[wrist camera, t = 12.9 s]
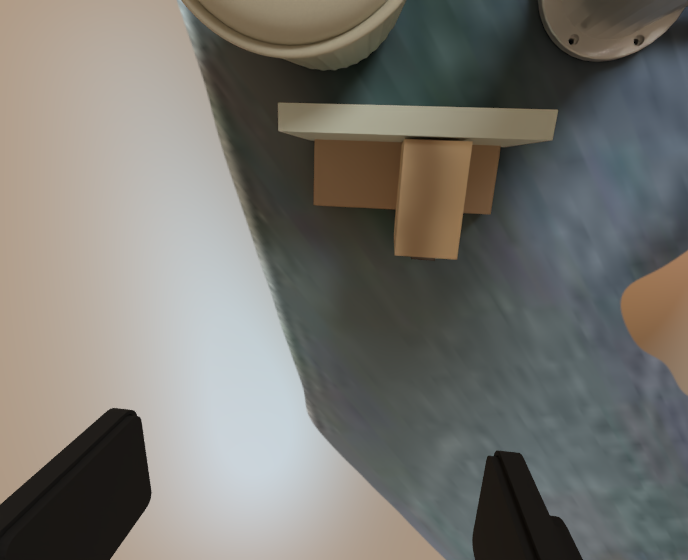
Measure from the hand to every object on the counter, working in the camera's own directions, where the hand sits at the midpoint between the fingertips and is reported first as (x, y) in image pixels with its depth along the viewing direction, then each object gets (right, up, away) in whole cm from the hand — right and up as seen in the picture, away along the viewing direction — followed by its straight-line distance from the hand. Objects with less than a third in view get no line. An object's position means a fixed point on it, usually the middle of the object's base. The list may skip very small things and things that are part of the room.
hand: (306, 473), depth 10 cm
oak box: (+9, +14, +28) cm, 33 cm away
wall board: (+7, +17, +30) cm, 35 cm away
